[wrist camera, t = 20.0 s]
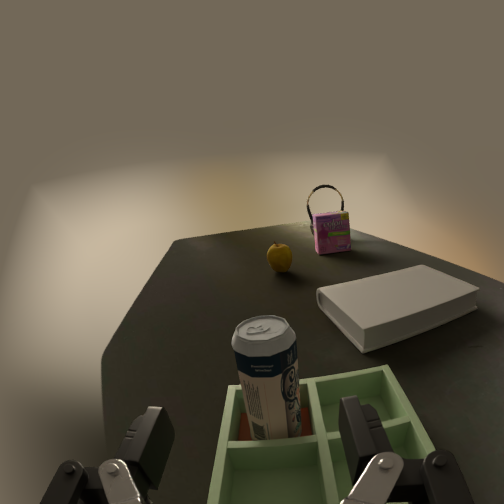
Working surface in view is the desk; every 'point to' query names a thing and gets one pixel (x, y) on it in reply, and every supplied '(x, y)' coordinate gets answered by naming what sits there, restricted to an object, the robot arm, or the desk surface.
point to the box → (332, 232)
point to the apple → (279, 257)
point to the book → (395, 305)
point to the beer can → (269, 377)
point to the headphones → (308, 205)
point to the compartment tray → (310, 443)
